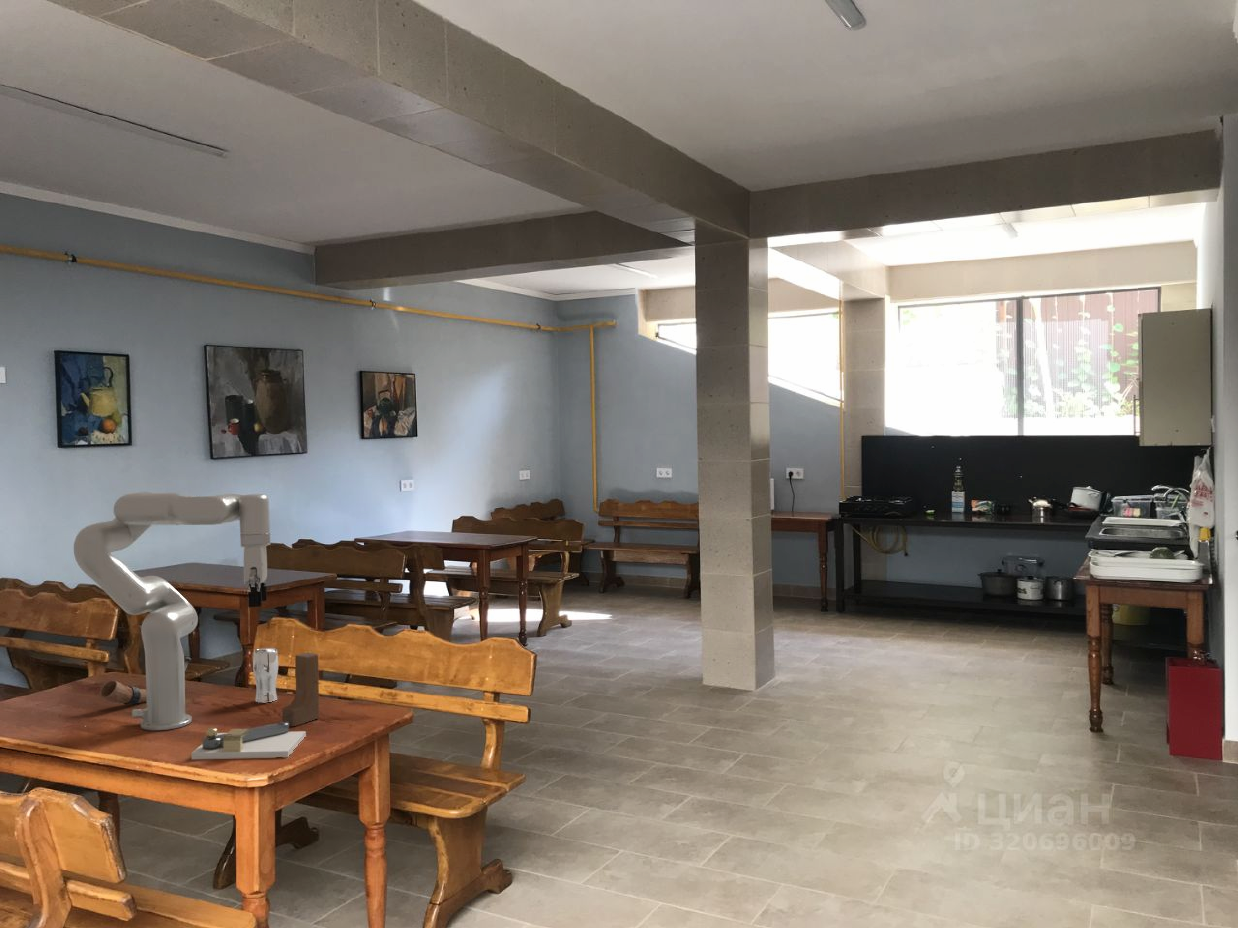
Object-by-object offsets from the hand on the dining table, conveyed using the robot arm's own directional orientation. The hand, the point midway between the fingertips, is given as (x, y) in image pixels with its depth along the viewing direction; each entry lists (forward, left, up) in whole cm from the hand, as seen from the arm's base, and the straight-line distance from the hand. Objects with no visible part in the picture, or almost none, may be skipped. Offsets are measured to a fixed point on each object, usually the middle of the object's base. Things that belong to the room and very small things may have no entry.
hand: (258, 603), depth 267 cm
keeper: (-1, -24, -31) cm, 40 cm away
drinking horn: (-41, +27, -33) cm, 59 cm away
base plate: (+4, -20, -33) cm, 39 cm away
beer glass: (-6, +24, -33) cm, 41 cm away
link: (+2, -18, -31) cm, 36 cm away
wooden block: (+10, +2, -33) cm, 35 cm away
